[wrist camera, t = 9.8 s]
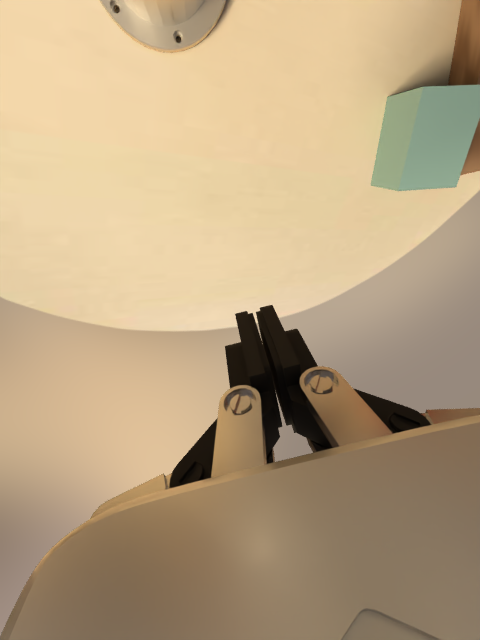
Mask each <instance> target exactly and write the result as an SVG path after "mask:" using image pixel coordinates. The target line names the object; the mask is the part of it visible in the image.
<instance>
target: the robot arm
mask: <svg viewBox="0 0 480 640" xmlns="http://www.w3.org/2000/svg"><path fill="white" fill-rule="evenodd" d="M100 2H101V3H102V5H103V6H104V8H105V9H106V11H107V12H108V14H109V15H110V16H111V18H112V19H113V20H114V21H115V22H116V23H117V25H118V26H119V27H120V28H121V29H122V30H123V31H124V32H125V33H126V34H128V35H129V36H130V37H131V38H132V39H133V40H135V41H137V42H138V43H140V44H142V45H144V46H145V47H147V48H150V49H153V50H156V51H159V52H169V53H174V52H179V51H185V50H187V49H189V48H191V47H193V46H195V45H197V44H198V43H199V42H201V41H202V40H203V39H204V38H205V37H206V36H207V35H208V34H209V33H210V31H211V30H212V29H213V28H214V26H215V25H216V23H217V21H218V19H219V17H220V15H221V13H222V11H223V8H224V5H225V2H226V0H100ZM116 7H119V8H120V12H119V13H116V12H115V8H116ZM177 37H180V38H181V42H180V43H178V42H177V41H176V38H177ZM256 314H257V319H258V324H259V329H260V333H261V338H262V341H261V338H260V335H259V332H258V329H257V325H256V322H255V319H254V316H253V313H250V314H248V313H247V311H245V312H241V313H237V314H235V315H236V320H237V325H238V329H239V334H240V339H241V342H240V343H236V344H232V345H228V346H225V350H226V359H227V365H228V375H229V383H230V389H229V390H228V391H226V392H225V393H224V394H223V396H222V397H221V399H220V402H219V410H218V418H217V419H216V420H215V422H214V423H213V424H212V425H211V426H210V427H209V428H208V430H207V431H206V432H205V433H204V434H203V435H202V437H201V438H200V439H199V440H198V441H197V442H196V444H195V445H194V446H193V447H192V448H191V450H189V452H188V453H187V454H186V455H185V456H184V457H183V459H182V460H181V461H180V462H179V463H178V464H177V466H176V467H175V469H174V470H173V472H172V473H171V474H169V475H167V476H165V475H164V474H161V475H159V476H157V477H155V478H153V479H151V480H149V481H147V482H145V483H143V484H141V485H139V486H137V487H135V488H133V489H130V490H128V491H126V492H124V493H122V494H120V495H118V496H116V497H114V498H112V499H110V500H108V501H106V502H105V503H103V504H102V505H101V506H99V507H98V509H97V510H96V511H95V512H94V513H93V515H92V516H91V518H90V519H89V520H88V521H86V522H85V523H83V524H82V525H80V526H79V527H77V528H76V529H74V530H73V531H71V532H70V533H69V534H67V535H66V536H65V537H64V538H62V539H61V540H60V541H59V542H58V543H57V544H55V545H54V546H53V547H52V548H51V549H50V550H49V551H48V552H47V554H46V555H45V556H44V557H43V558H42V559H41V561H40V562H39V564H38V565H37V566H36V568H35V569H34V571H33V573H32V574H31V576H30V577H29V579H28V581H27V582H26V585H25V586H24V588H23V590H22V592H21V594H20V596H19V598H18V600H17V602H16V604H15V606H14V608H13V610H12V612H11V614H10V616H9V618H8V620H7V622H6V625H5V627H4V629H3V631H2V634H1V636H0V640H480V408H468V409H437V410H436V409H435V410H426V412H425V413H419V412H418V411H415V410H413V409H411V408H408V407H405V406H403V405H400V404H396V403H394V402H391V401H388V400H385V399H382V398H379V397H376V396H373V395H371V394H367V393H365V392H362V391H359V390H356V389H353V388H352V387H351V386H350V385H349V383H348V382H347V381H346V380H345V379H344V378H343V377H342V376H341V374H340V373H338V372H337V371H336V370H334V369H332V368H329V367H324V366H317V364H316V362H315V360H314V358H313V357H312V355H311V353H310V351H309V349H308V347H307V345H306V344H305V342H304V340H303V338H302V336H301V335H300V333H299V331H298V329H293V330H289V331H284V329H283V327H282V325H281V323H280V320H279V318H278V316H277V314H276V312H275V310H274V308H273V306H272V305H269V306H265V307H261V308H260V311H258V312H256ZM262 343H263V344H262ZM275 391H276V392H275ZM276 394H277V397H278V400H279V403H280V406H281V410H282V412H283V416H284V419H285V423H286V425H291V424H292V427H293V430H294V433H296V432H297V433H298V434H300V435H302V436H304V437H306V438H307V441H308V444H309V446H310V448H311V449H312V451H313V453H311V454H306V455H302V456H298V457H294V458H290V459H286V460H282V461H278V462H275V457H274V451H273V447H274V445H275V444H276V442H277V441H278V439H279V437H280V435H279V430H278V428H279V427H282V422H281V417H280V412H279V407H278V402H277V397H276Z"/></svg>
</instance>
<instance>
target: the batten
mask: <svg viewBox="0 0 480 640" xmlns="http://www.w3.org/2000/svg"><path fill="white" fill-rule="evenodd" d="M456 85H480V0H462V5H461V11H460V17H459V23H458V29H457V35H456V41H455V47H454V53H453V59H452V65H451V71H450V77H449V83H448V86H456ZM476 171H480V118H479V121H478V124H477V127H476V130H475V133H474V136H473V139H472V142H471V145H470V148H469V151H468V154H467V157H466V160H465V162H464V165H463V168H462V171H461V174H460V175H463V174H467V173H471V172H476Z"/></svg>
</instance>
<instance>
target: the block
mask: <svg viewBox="0 0 480 640" xmlns="http://www.w3.org/2000/svg"><path fill="white" fill-rule="evenodd" d="M479 118H480V85H456V86H427V87H420V88H417V89H413V90H410V91H407V92H403V93H400V94H396V95H393V96H389V97H387V102H386V108H385V113H384V118H383V123H382V129H381V134H380V139H379V144H378V150H377V155H376V160H375V165H374V171H373V176H372V181H371V186H375V187H380V188H385V189H390V190H395V191H407V190H422V189H437V188H452V187H456V186H457V183H458V180H459V177H460V174H461V171H462V168H463V165H464V162H465V160H466V157H467V154H468V151H469V148H470V145H471V142H472V139H473V136H474V133H475V130H476V127H477V124H478V121H479Z"/></svg>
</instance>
